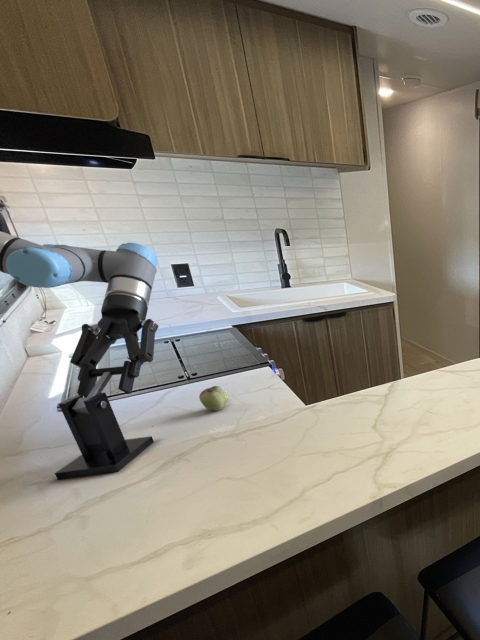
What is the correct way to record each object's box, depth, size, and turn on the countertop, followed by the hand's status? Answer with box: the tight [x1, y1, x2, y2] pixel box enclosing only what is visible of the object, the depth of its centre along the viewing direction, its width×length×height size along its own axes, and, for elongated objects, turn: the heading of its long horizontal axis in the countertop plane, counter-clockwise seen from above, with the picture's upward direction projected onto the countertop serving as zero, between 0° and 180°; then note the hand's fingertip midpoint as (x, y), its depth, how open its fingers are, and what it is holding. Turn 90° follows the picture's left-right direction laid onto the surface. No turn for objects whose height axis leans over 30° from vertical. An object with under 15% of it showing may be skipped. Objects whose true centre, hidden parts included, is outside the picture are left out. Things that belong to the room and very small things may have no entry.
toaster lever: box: [72, 365, 123, 416], centre depth 82 cm, size 12×6×2 cm, turn 14°
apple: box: [198, 385, 229, 412], centre depth 105 cm, size 6×8×6 cm
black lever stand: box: [54, 392, 155, 481], centre depth 80 cm, size 12×10×14 cm
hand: (104, 393), depth 83 cm, fingers closed on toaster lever, 6 cm apart
